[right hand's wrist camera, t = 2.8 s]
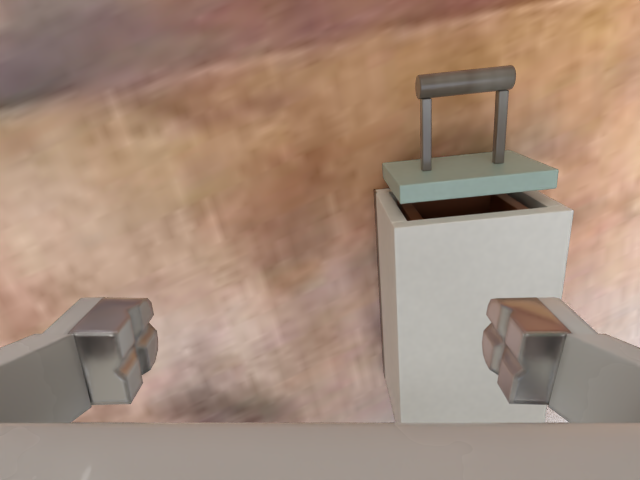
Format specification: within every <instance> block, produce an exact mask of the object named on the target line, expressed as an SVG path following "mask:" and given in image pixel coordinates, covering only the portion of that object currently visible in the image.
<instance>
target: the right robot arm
mask: <svg viewBox="0 0 640 480" xmlns="http://www.w3.org/2000/svg"><path fill="white" fill-rule="evenodd" d="M153 315H154V313H153V308H152V303H151V301H150V300H149V299H148V298H113V297H107V298H105V297H86V298H80V299H79V300H78V301H77V302H76V303H75V304H74V305H73V306H72V307H71V308H70V309H68V310H67V311H66V312H65V313H64V314H63V315H62V316H61V317H60V318H59V319H58V320H56V321H55V322H54V323H53V324H52V325H51V326H50V327H49V328H48V329H47V330H46V331H44V332H43V333H42V334H33V335H31V336H28V337H26V338H24V339H21V340H19V341H16V342H14V343H11V344H9V345H6V346H4V347H1V348H0V480H640V348H639V347H636V346H634V345H631V344H629V343H626V342H624V341H621V340H619V339H616V338H614V337H612V336H609V335H607V334H598V333H597V332H596V331H595V330H593V329H592V328H591V327H590V326H589V325H588V324H587V323H586V322H585V321H584V320H583V319H581V318H580V317H579V316H578V315H577V314H576V313H575V312H574V311H573V310H572V309H571V308H570V307H568V306H567V305H566V304H565V303H564V302H563V301H562V300H561V299H560V298H556V297H539V298H537V297H530V298H495V299H491V300H490V302H489V304H488V307H487V312H486V315H487V317H488V318H489V320H490V322H491V323H490V324H489V325H488V326H487V327H486V328H485V330H484V331H483V337H482V351H483V356H484V359H485V363H486V364H487V366H488V368H489V370H491V371H492V372H494V373H496V374H497V375H498V380H497V384H498V385H499V387H500V389H501V390H502V392H503V394H504V396H505V397H506V399H507V401H508V402H509V404H531V405H549V406H548V407H549V408H551V409H552V410H553V411H555V412H556V413H557V414H559V415H560V416H561V417H563V418H564V419H565V420H567V421H568V422H569V423H71V422H72V421H73V420H75V419H76V418H77V417H79V416H80V415H81V414H83V413H84V412H85V411H87V410H88V409H89V408H91V405H108V404H131V403H132V401H133V399H134V397H135V396H136V394H137V392H138V391H139V389H140V387H141V385H142V384H143V380H142V375H143V374H145V373H146V372H148V371H149V370H151V368H152V366H153V364H154V362H155V360H156V356H157V351H158V336H157V331H156V330H155V328H154V327H153V326H152V325H151V324H150V323H149V322H150V320H151V318H152V317H153Z"/></svg>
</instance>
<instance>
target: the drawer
mask: <svg viewBox="0 0 640 480" xmlns="http://www.w3.org/2000/svg"><path fill="white" fill-rule="evenodd" d="M515 80H516V72H515V68H514V67H513V66H512V65H508V66H499V67H490V68H480V69H471V70H461V71H452V72H443V73H433V74H424V75H418V76H417V78H416V84H415V89H416V96H417V98H418V99H420V137H421V159H416V160H407V161H397V162H387V163H383V164H382V168H383V179H384V180H385V182H386V183H387V185H388V186H389V188H390V189H391V191H392V192H393V194H394V195H395V197H396V198H397V206H398V207H399V209H400V211H401V212H402V214H403V215H404V217H405V218H406V220H407V221H412V220H422V219H432V218H442V217H452V216H462V215H472V214H483V213H493V212H503V211H513V210H523V209H529V208H528V207H526V206H524V205H523V204H521V203H520V202H518V201H517V200H515V199H513V198H512V197H510V196H509V195H507V194H506V193H515V192H525V191H535V190H545V189H555V188H556V187H557V179H558V169H555V168H553V167H550V166H548V165H545V164H543V163H540V162H538V161H536V160H533V159H531V158H528V157H526V156H523V155H521V154H518V153H516V152H513V151H511V150H505V139H506V124H507V109H508V94H509V90H510V89H512V88H513V86H514V84H515ZM492 91H496V99H495V117H494V135H493V152H485V153H475V154H465V155H455V156H446V157H436V158H431V142H432V99H431V98H435V97H444V96H454V95H463V94H473V93H482V92H492Z"/></svg>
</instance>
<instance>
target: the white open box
mask: <svg viewBox="0 0 640 480" xmlns="http://www.w3.org/2000/svg"><path fill="white" fill-rule="evenodd" d="M506 194H507V195H509V196H510V197H512V198H513V199H515V200H517V201H518V202H520V203H521V204H523V205H524V206H526V207H528V208H529V209H523V210H513V211H503V212H493V213H483V214H472V215H462V216H452V217H442V218H432V219H422V220H412V221H407V220H406V218H405V217H404V215H403V214H402V212H401V211H400V209H399V207H398V206H397V198H396V197H395V195H394V194H393V192H392V191H391V189H390V188H387V189H377V190H375V189H374V204H375V223H376V242H377V261H378V280H379V300H380V319H381V338H382V357H383V373H384V377H385V380H386V384H387V388H388V393H389V397H390V401H391V405H392V409H393V414H394V418H395V422H396V423H545V417H546V410H547V405H531V404H509V402H508V401H507V399H506V397H505V396H504V394H503V392H502V390H501V389H500V387H499V385H498V384H497V380H498V375H497V374H496V373H494V372H492V371H491V370H489V368H488V366H487V364H486V363H485V359H484V356H483V351H482V337H483V331H484V330H485V328H486V327H487V326H488V325H489V324H490V323H491V322H490V320H489V318H488V317H487V315H486V312H487V307H488V304H489V302H490V300H491V299H495V298H530V297H537V298H539V297H556V298H560V299H561V300H562V293H563V285H564V278H565V271H566V263H567V256H568V249H569V241H570V234H571V227H572V219H573V212H574V211H573V210H572V209H570V208H568V207H566V206H564V205H563V204H561V203H559V202H557V201H555V200H554V199H552V198H550V197H548V196H546V195H544V194H542V193H540V192H539V191H537V190H535V191H525V192H515V193H506Z"/></svg>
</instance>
